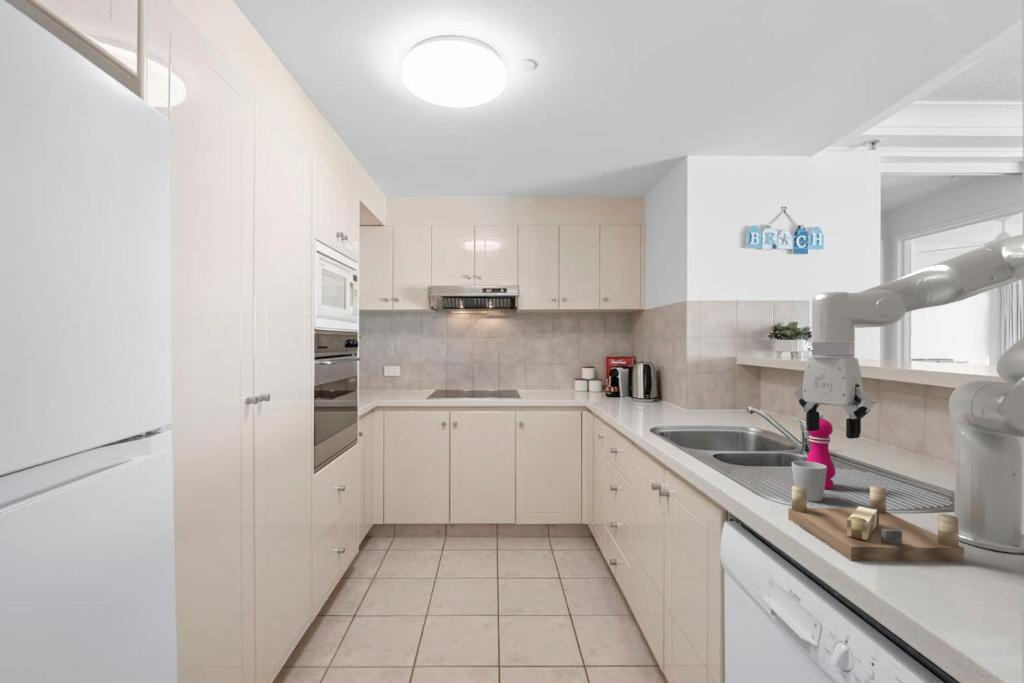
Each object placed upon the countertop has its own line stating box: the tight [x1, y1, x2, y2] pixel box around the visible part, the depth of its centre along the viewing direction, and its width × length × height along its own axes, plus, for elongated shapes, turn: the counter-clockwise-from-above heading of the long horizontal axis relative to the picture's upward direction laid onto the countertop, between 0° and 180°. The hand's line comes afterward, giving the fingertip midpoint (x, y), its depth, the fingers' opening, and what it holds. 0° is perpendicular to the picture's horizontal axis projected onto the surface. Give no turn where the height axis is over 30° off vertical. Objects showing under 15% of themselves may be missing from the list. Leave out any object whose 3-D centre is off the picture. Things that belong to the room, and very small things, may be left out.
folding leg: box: [847, 503, 879, 540], centre depth 93 cm, size 12×3×3 cm, turn 134°
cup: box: [791, 460, 827, 503], centre depth 121 cm, size 8×10×8 cm
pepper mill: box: [805, 412, 836, 490], centre depth 130 cm, size 7×7×20 cm
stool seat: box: [787, 485, 965, 563], centre depth 95 cm, size 20×20×8 cm
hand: (832, 433), depth 100 cm, fingers open, 7 cm apart
